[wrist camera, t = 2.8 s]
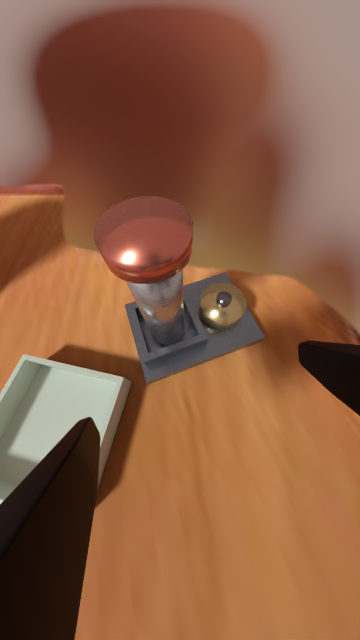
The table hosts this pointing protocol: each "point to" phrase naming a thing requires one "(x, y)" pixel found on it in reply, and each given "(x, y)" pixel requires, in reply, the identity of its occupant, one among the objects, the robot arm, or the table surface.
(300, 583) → the table surface
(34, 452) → the tray
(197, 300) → the plate
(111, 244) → the pin
